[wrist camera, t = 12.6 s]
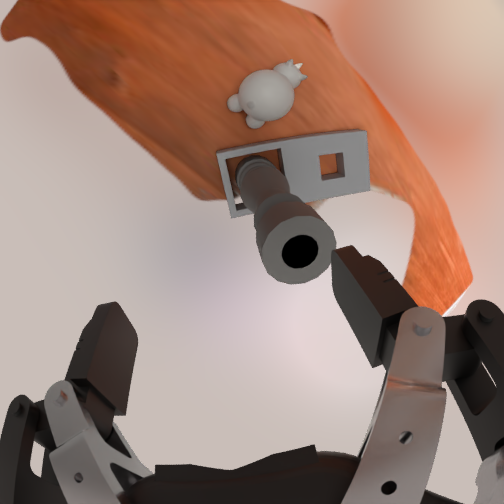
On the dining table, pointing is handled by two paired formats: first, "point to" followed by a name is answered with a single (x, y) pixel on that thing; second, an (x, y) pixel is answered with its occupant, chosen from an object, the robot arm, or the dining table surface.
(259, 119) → the toy rhinoceros
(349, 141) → the hole board
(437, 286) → the dining table surface
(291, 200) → the candle holder
